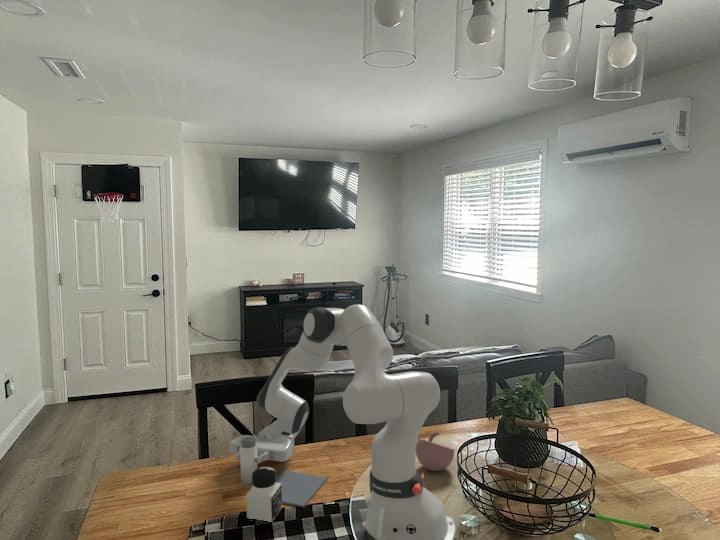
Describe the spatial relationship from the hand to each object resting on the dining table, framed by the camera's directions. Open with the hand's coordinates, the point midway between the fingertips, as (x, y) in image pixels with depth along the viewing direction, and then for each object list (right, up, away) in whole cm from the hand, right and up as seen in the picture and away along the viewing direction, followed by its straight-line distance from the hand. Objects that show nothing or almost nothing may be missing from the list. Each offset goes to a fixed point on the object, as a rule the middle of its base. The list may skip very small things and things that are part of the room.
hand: (247, 459), depth 144 cm
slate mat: (+14, -7, -4) cm, 17 cm away
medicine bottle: (+9, -8, -17) cm, 20 cm away
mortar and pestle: (+58, -6, +7) cm, 59 cm away
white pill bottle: (0, -7, +1) cm, 7 cm away
